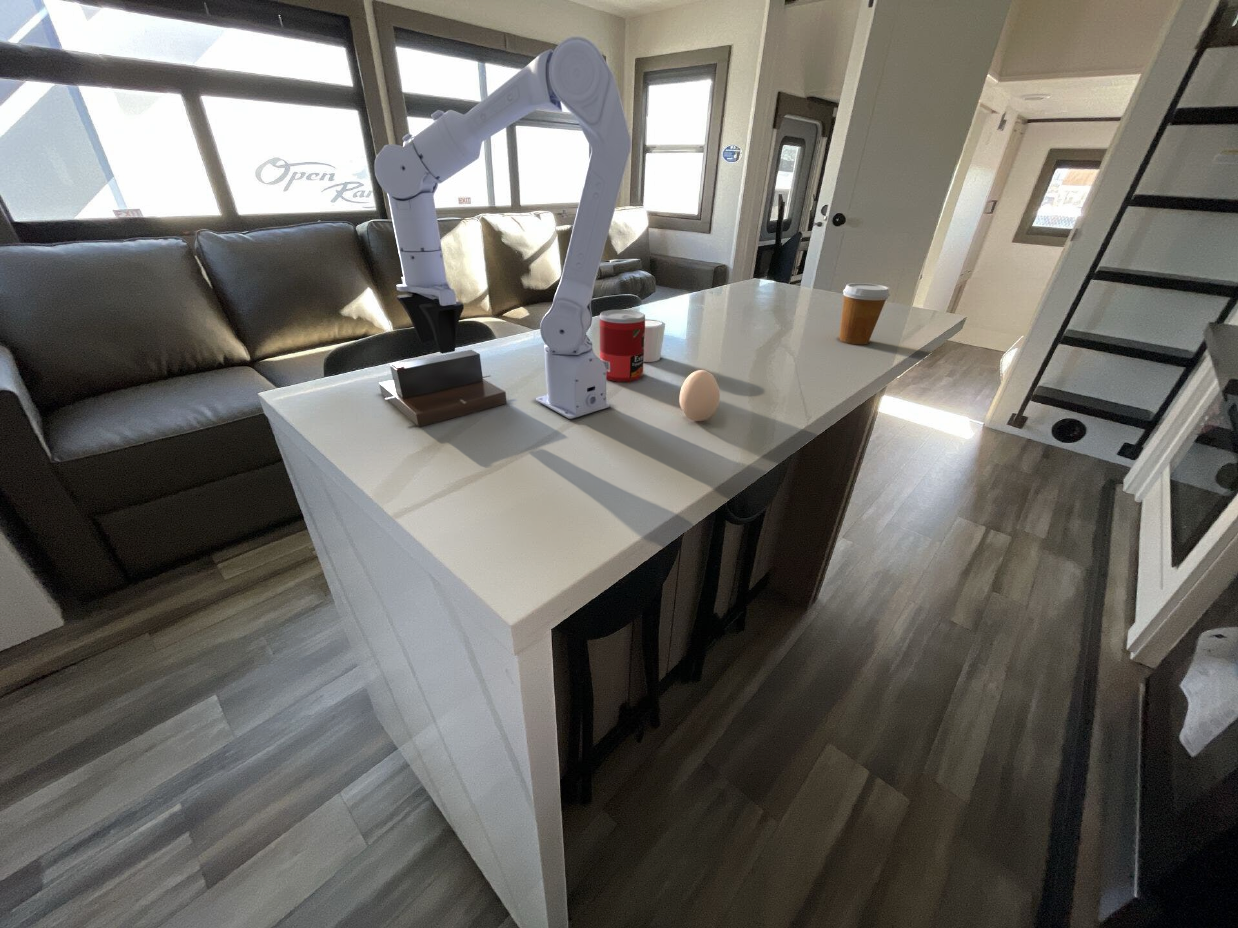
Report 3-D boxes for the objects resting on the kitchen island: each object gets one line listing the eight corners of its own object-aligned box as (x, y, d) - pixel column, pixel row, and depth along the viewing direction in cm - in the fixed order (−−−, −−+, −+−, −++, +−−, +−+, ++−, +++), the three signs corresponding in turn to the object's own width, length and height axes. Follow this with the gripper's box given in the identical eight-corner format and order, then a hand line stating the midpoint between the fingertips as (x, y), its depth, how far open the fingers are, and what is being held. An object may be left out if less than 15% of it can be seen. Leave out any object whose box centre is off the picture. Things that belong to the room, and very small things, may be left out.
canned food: (639, 384, 86) (641, 320, 80) (595, 380, 87) (594, 317, 82) (645, 370, 92) (648, 310, 87) (604, 367, 94) (604, 308, 88)
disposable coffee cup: (836, 345, 110) (850, 289, 104) (828, 334, 118) (840, 281, 112) (881, 347, 108) (897, 291, 102) (869, 336, 116) (884, 283, 111)
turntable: (517, 402, 78) (516, 389, 77) (409, 431, 68) (405, 417, 67) (469, 374, 89) (467, 362, 88) (370, 395, 79) (366, 383, 78)
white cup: (669, 356, 100) (671, 322, 97) (652, 365, 95) (654, 329, 92) (640, 350, 103) (641, 317, 100) (622, 358, 98) (623, 323, 95)
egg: (722, 427, 71) (728, 376, 67) (683, 429, 70) (688, 378, 66) (709, 411, 76) (715, 363, 72) (673, 412, 75) (677, 364, 71)
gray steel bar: (474, 376, 82) (471, 348, 80) (483, 380, 80) (479, 352, 78) (396, 393, 75) (389, 363, 72) (403, 399, 73) (396, 368, 70)
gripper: (373, 247, 71) (393, 340, 77) (411, 257, 61) (430, 362, 68) (421, 244, 75) (437, 333, 81) (464, 253, 65) (477, 353, 72)
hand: (437, 346), depth 75 cm, fingers open, 7 cm apart
